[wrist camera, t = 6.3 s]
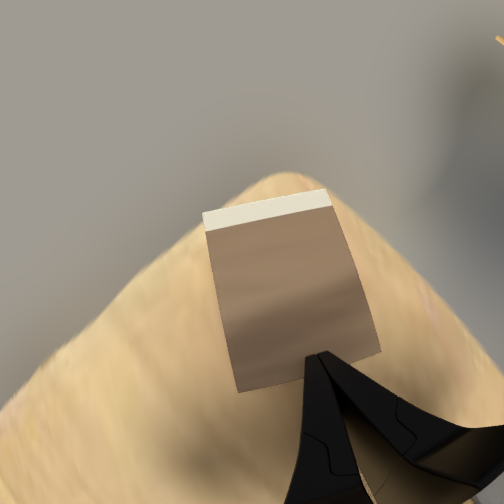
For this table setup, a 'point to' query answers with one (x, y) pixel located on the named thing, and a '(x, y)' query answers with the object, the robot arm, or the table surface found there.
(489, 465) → the robot arm
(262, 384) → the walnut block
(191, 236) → the table surface
